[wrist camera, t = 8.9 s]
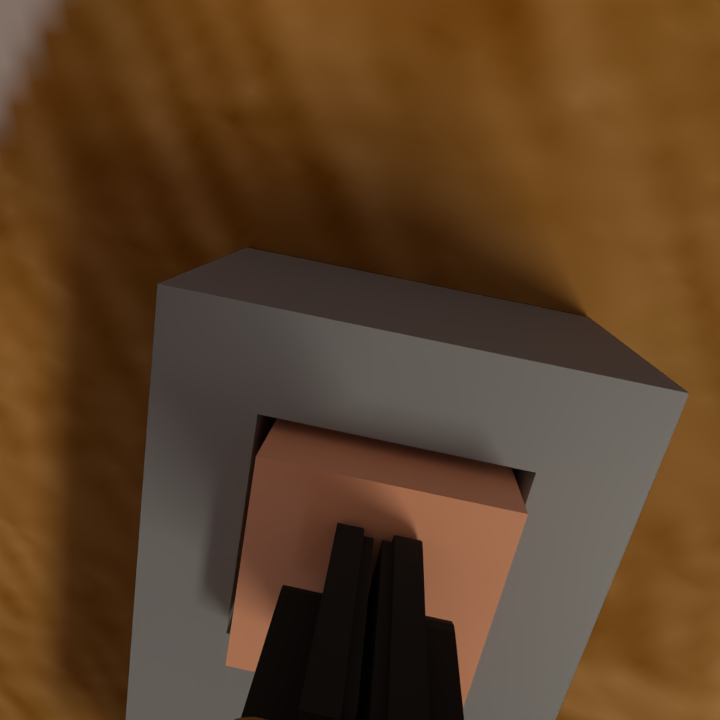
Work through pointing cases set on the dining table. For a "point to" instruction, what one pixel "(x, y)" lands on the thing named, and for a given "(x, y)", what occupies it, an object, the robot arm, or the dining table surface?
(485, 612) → the terracotta plunger
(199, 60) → the dining table surface
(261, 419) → the button box
